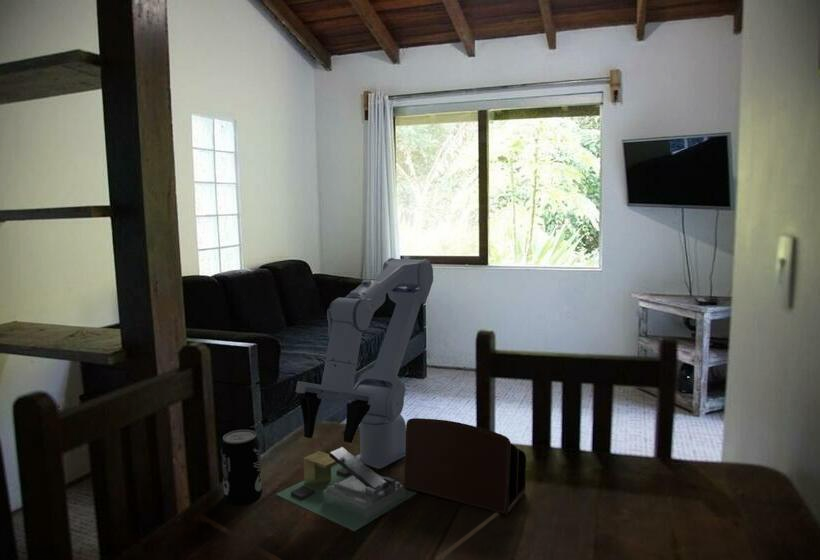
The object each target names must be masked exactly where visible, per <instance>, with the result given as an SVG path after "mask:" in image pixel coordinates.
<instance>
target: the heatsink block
mask: <svg viewBox="0 0 820 560" xmlns="http://www.w3.org/2000/svg"><path fill="white" fill-rule="evenodd" d="M376 474H377V475H379V476H380V477H381V478H382V479H384V480H385V481H386V482H388V484H389V487H388V488H386V489H384V490H382V491H381V492H379V493H377V490H376V489H374V488H371V487H367V486H365V485H364V484H363V483H362V482H361V481H359V480H358V479H357V478H356V477H354V476H351V477H349V478H347V479H345V480H343V481H341V482H339V483H334V485H333V486H329V487H327V489H326V490H324V491H323V501H324V504H325V505H328V506H330V507H332V508H334V509H337V510H339V511H341V512H343V513H345V514H348V515H350V516H352V517H354V518H357V519H359V520H361V521H363V522H367V521H368V520H370V519H372V518H373V517H375V516H377V515H378V514H380V513H381V512H383V511H385V510H386V509H388V508H390V507H391V506H393V505H395V504H396V503H398V502H400V501H401V500H403V499H405V498H404V484H401V482H399V481H397V480H396V479H394V478H391V477H389V476H384V475H380V474H378V473H376Z"/></svg>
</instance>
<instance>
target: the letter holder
mask: <svg viewBox="0 0 820 560" xmlns="http://www.w3.org/2000/svg"><path fill="white" fill-rule="evenodd" d="M405 424H406V449H405V454H404V455H405V456H404V459H405V461H404V479H403V481H404V482H403V486H404V488H405V489H408V490H411V491H414V492H416V493H421V494H425V495H427V496H428V495H429V496H432V497H436V498H440V499H444V500H448V501H451V502H455V503H459V504H463V505H467V506H471V507H474V508H479V509H482V510H486V511H488V512H489V511H490V512H493V513H494V512H495V513H497V514H502V515H505V516H507V515H508V514H509V513H510V512H511V510H512V509H513V508H514V506H515V505H516V504H517V503H518V502H519V500H521V498H522V496H524V494H525V493H526V488H527V487H526V486H527V482H526V481H527V475H526V474H527V455H526V453H525V451H523V450H522V449H520V448H518V447H517V446H516V445H515V444H513V443H511V440H510V439H509V437H507V436H505V435H503V434H502V433H498V432H495V431H493V430H489V429H486V428H482V427H479V426H475V425H472V424H471V425H470V424H468V423H463V422H460V421H459V422H457V421H453V420H447V419H446V420H445V419H436V418H435V419H434V418H419V417H417V418H416V417H415V418H414V417H412V418H409V419H407V421H406V422H405Z"/></svg>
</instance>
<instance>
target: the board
mask: <svg viewBox="0 0 820 560" xmlns="http://www.w3.org/2000/svg"><path fill="white" fill-rule="evenodd" d="M351 476H353V475H352V474H351V473H349V472H348V471H347V470H346V469H345V468H343V467H342V466H341V465H340V464H338V463H336V464H334V465H332V466H331V480H330V481H328V482H326V483H324V484H322V485H320V486H318V487H316V488H314V487H312V486H310V485H307V484H305V481H304V480H301V481H300V482H298V483H296V484H294V485H292V486H289V487H288V488H285V489H284V490H281V491H279V492H277V493H275V496H278V497H280V498H282V499H285V500H286V501H288V502H291V503H292V504H295V505H297V506H299V507H302V508H304V509H305V510H308V511H309V512H312V513H314V514H317V515H318V516H320V517H322V518H324V519H327V520H328V521H331V522H333V523H335V524H337V525H340V526H342V527H344V528H346V529H348V530H350V531H353V532H356V531H358V530H359V529H361V528H363V527H364V526H366V525H367V524H370V522H372V521H374V520H376V519H378V518H379V517H380V516H383V515H384V514H385V513H387V512H389V511H390V510H392V509H394V508H396V507H398V506H399V505H401V504H402V503H404V502H406V501H407V500H408V499H411V498H412V497H414V496H415V495H417V494H418V492H416V491H412V490H408V489H405V488H404V498H405V499H403V500H401V501H400V502H398V503H396V504H395V505H393V506H391V507H390V508H388V509H386V510H385V511H383V512H381V513H380V514H378V515H377V516H375V517H373V518H372V519H370V520H368V521H367V522H363V521H361V520H359V519H357V518H354V517H352V516H350V515H348V514H345V513H343V512H341V511H339V510H337V509H334V508H332V507H330V506H328V505H325V504H324V501H323V491H324V490H326V489H327V487H329V486H333V485H334V483H339V482H341V481H343V480H345V479H347V478H349V477H351Z"/></svg>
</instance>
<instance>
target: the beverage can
mask: <svg viewBox="0 0 820 560" xmlns="http://www.w3.org/2000/svg"><path fill="white" fill-rule="evenodd" d="M222 440H223V441H222V443H221V445H220V455H221V466H222V467H221V468H222V472H221V473H222V483H223V499H224V501H225V502H226V503H227V504H230V505H233V506H242V505H249V504H251V503H254V502H255V501H257V500H260V498H261V497H262V494H263V485H262V484H263V483H262V482H263V481H262V471H261V470H262V468H261V450H260V449H261V448H260V440H259V438H258V437H257V433H256V432H255V430H251V429H237V430H232V431H229V432H227V433H226V434H224V435H223V437H222Z"/></svg>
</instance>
